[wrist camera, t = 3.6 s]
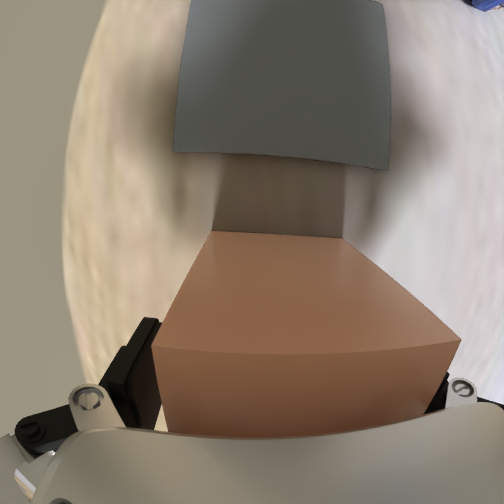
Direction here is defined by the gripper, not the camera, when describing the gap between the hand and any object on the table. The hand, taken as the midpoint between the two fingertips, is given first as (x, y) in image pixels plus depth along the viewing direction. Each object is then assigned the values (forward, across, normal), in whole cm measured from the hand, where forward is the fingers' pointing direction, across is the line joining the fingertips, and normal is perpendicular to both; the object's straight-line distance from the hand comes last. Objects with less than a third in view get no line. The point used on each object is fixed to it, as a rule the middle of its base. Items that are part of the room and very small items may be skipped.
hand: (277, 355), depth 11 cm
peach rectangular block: (+5, 0, 0) cm, 5 cm away
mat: (+5, 0, -13) cm, 14 cm away
